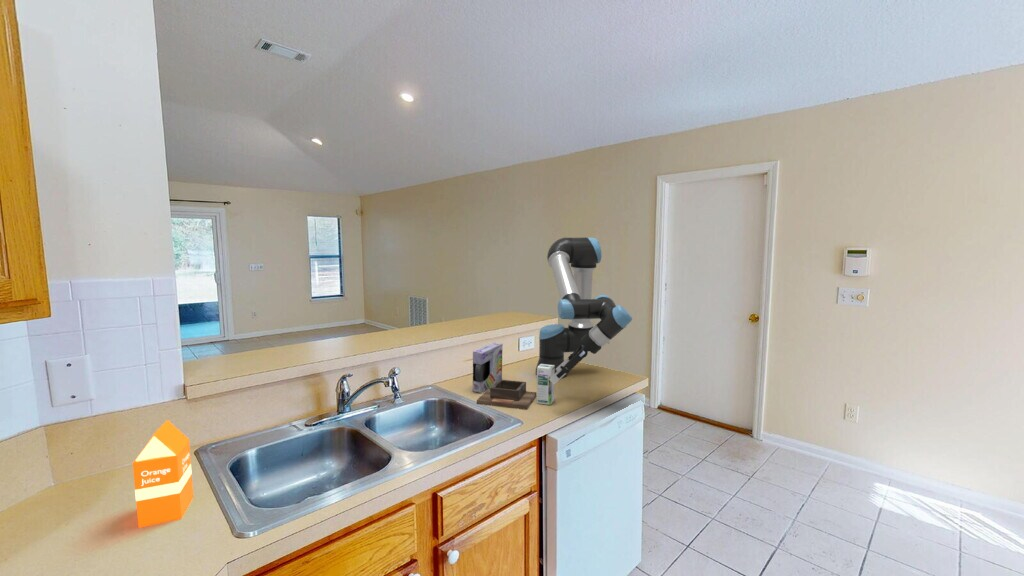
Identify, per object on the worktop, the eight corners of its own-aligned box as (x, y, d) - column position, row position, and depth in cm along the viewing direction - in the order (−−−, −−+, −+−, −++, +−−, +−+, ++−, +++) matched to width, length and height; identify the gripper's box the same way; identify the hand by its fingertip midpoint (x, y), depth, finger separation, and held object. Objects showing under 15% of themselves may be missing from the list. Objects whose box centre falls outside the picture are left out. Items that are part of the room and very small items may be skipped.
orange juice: (137, 528, 89) (129, 438, 87) (153, 504, 97) (146, 422, 95) (182, 518, 92) (175, 431, 90) (194, 496, 100) (188, 416, 98)
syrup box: (536, 403, 159) (536, 367, 158) (540, 398, 165) (540, 363, 164) (550, 405, 158) (551, 368, 156) (554, 400, 163) (554, 364, 162)
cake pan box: (480, 394, 170) (480, 352, 168) (470, 392, 172) (470, 350, 170) (503, 381, 187) (503, 342, 185) (493, 379, 189) (493, 341, 187)
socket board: (490, 391, 174) (489, 378, 173) (536, 395, 168) (536, 382, 167) (476, 403, 159) (476, 389, 159) (527, 409, 154) (527, 395, 153)
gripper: (599, 355, 140) (556, 394, 145) (604, 340, 164) (566, 374, 169) (584, 339, 141) (541, 378, 146) (591, 326, 165) (554, 360, 170)
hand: (554, 376), depth 158 cm, fingers open, 13 cm apart
